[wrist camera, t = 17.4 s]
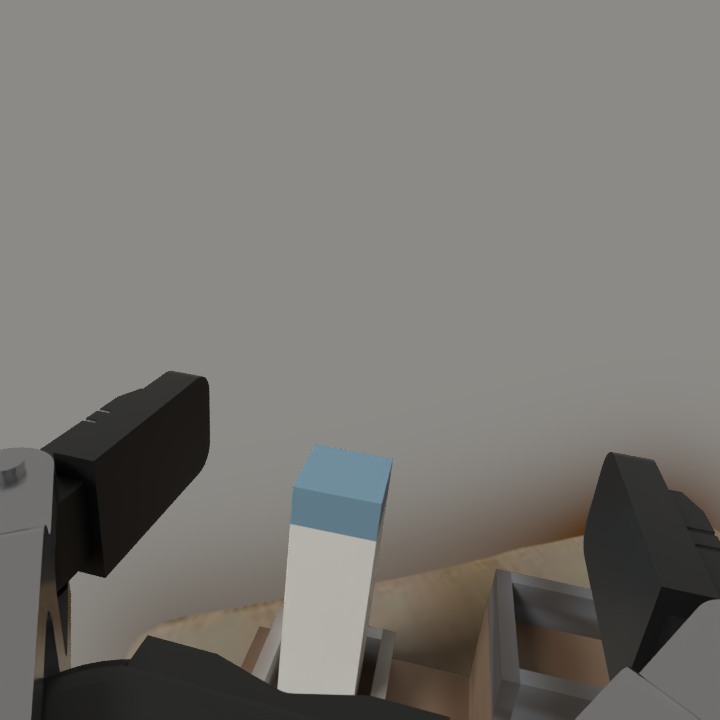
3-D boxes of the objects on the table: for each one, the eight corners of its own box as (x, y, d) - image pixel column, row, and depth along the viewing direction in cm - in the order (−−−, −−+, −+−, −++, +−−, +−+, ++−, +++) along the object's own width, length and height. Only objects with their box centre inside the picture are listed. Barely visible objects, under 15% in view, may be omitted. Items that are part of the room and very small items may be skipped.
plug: (360, 679, 34) (392, 458, 29) (347, 743, 30) (381, 503, 25) (295, 663, 35) (315, 444, 29) (274, 724, 31) (293, 486, 26)
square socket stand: (583, 729, 35) (630, 592, 31) (612, 884, 27) (679, 729, 24) (258, 649, 38) (266, 515, 34) (205, 771, 30) (208, 616, 27)
